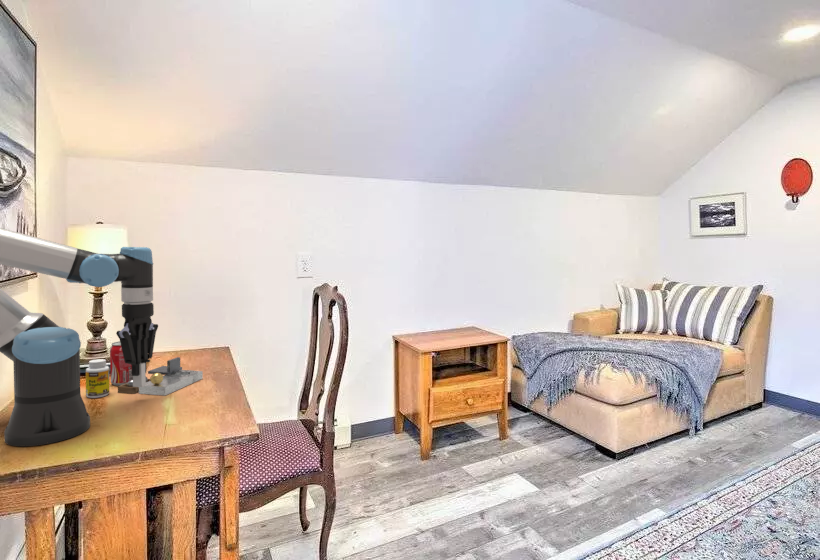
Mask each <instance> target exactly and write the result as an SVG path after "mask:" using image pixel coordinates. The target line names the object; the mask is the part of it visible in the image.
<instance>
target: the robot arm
mask: <svg viewBox="0 0 820 560" xmlns="http://www.w3.org/2000/svg"><path fill="white" fill-rule="evenodd" d="M153 260H154V259H153V251H152V249H151V248H149V247H145V246H142V247H141V246H122V247H121V248H120V250H119V253H110V254H109V253H98V252H93V251H89V250H85V249H81V248H77V247H74V246H70V245H66V244H63V243H59V242H56V241H52V240H47V239H43V238H40V237H36V236H33V235H28V234H26V233H21V232H18V231H14V230H10V229H5V228H3V227H0V265H2V266H6V267H10V268H15V269H19V270H24V271H30V272H34V273H37V274H42V275H45V276H46V275H47V276H52V277H57V278H61V279H65V281H66V282H68V283H73V284H75V283H76V284H78V283H79V284H86V285H88V286H90V287H95V288H104V287H106V286H109V285H111V284H113V283H117V282H120V284H121V285H120V286H121V288H120V291H121V302H122V305H121V317H123V318H124V323H123V328H122V329H121V330H117V331H116V336H117V337H118V339H119V341H120V343H121V347H122V352H123V356H124V361H125V363H128V364H131V365H132V376H133V387H144V386H146V377H147V376H146V373H147V363H150V362H151V359H152V358H153V354H154V347H155V341H156V340H155V339H156V335H157V331H158V329H159V324H157V323H153V321H152V318H151V317H153V316H154V312H155V311H154V309H155V306H154V303H153V301H154V261H153ZM81 344H82V342H81V340H80V334H79V332H78V331H76V330H75V329H74V328H73V329H72V328H69V327H68V328H67V327H63V326H59V325H58V324H56V323H55V322H54V321H53V320H51V319H50V317H48V316H46V315H45V314H44V313H42V312H31V311H29V310H28V309H27V308H25V307H24V306H23V305H22V304H21V303H19V302H18V301H16V299H14V298H13V297H12V296H11V295H9V294H8V293H7V292H5V291H4V290H3V289H2V288H0V354H3V356H6V357H7V358H8V359H10V361H12V362H13V390H14V391H13V392H14V393H13V395H14V398H13V399H14V400H13V401H14V402H13V403H14V404H13V405H14V406H13V408H12V411H11V414H10V416H9V420H8V424H7V425H6V427H5V429H4V433H3V435H4V443H5V444H7V445H9V446H12V447H13V446H14V447H35V446H42V445H47V444H54V443H58V442H60V441H61V442H62V441H64V440H68V439H71V438H74V437H76V436H79V435H81V434H82V433H84V432H86V431H88V430H89V429H90V427H91V416H90V414H89V413H88V412H87V411H88V410H87V408H86V405H85V403H84V401H83V398H82V395H81V354H80V352H81V350H80V349H81Z"/></svg>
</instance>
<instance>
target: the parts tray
mask: <svg viewBox="0 0 820 560" xmlns="http://www.w3.org/2000/svg"><path fill="white" fill-rule="evenodd" d="M149 381H150V378H148V382H149ZM117 393H118V394H131V395H135V394H139V387H127V383H126V384H123V385H121V386H117Z"/></svg>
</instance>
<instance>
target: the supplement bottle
mask: <svg viewBox="0 0 820 560" xmlns="http://www.w3.org/2000/svg"><path fill="white" fill-rule="evenodd" d="M109 394H110V366H109V365H107V361H106V359H105V358H104V359H103V358H101V359H100V358H99V359H98V358H97V359H96V358H95V359H91V360H89V361H88V367H87V368H85V396H86V397H87V398H89V399H97V398H98V399H99V398H103V397H106V396H108V395H109Z"/></svg>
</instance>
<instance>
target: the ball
mask: <svg viewBox="0 0 820 560" xmlns="http://www.w3.org/2000/svg"><path fill="white" fill-rule="evenodd" d="M127 387H133V379H132V380H129V381H128V382H127Z"/></svg>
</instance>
